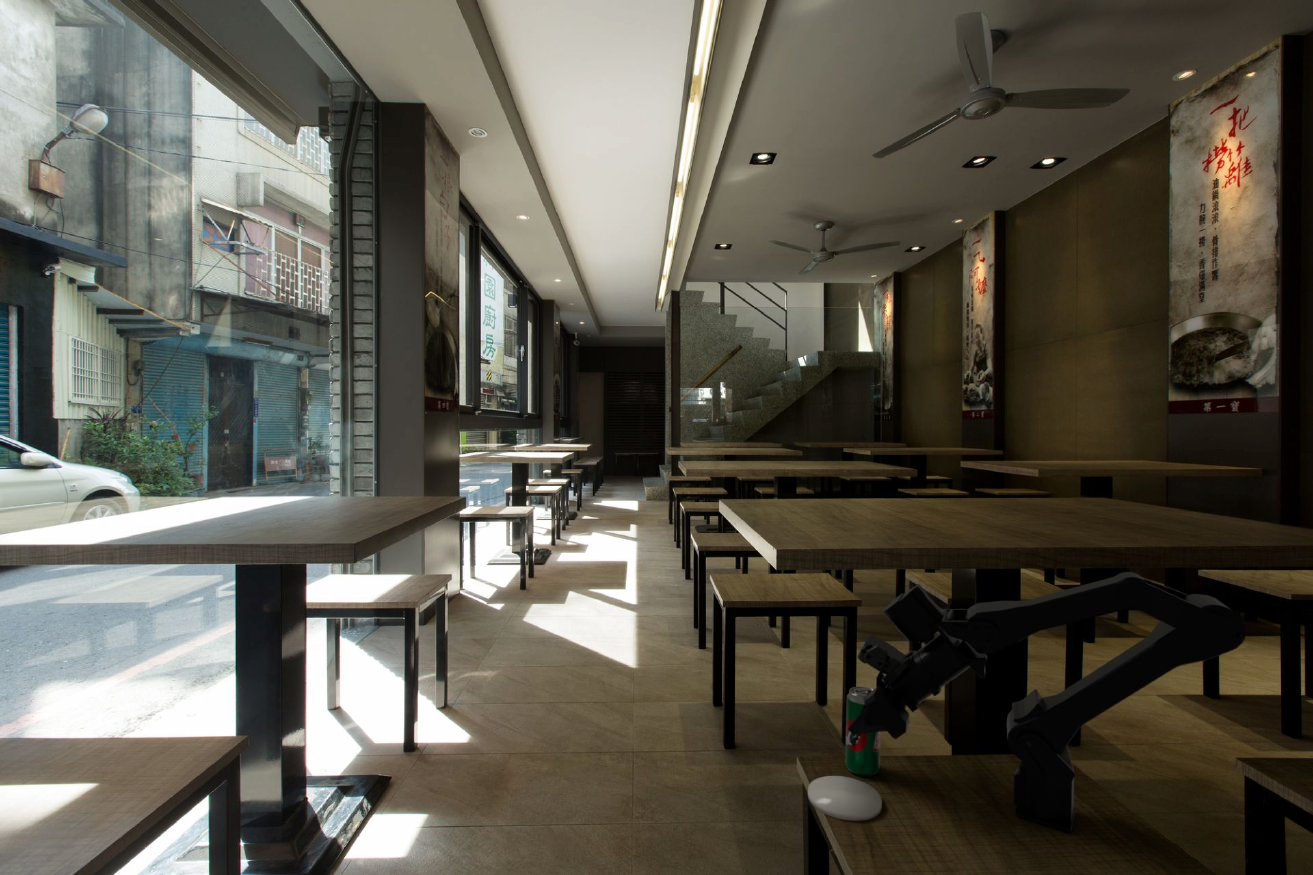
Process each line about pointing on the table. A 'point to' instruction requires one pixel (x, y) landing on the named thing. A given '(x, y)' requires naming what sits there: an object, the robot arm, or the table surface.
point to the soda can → (860, 738)
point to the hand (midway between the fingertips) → (853, 724)
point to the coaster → (844, 798)
